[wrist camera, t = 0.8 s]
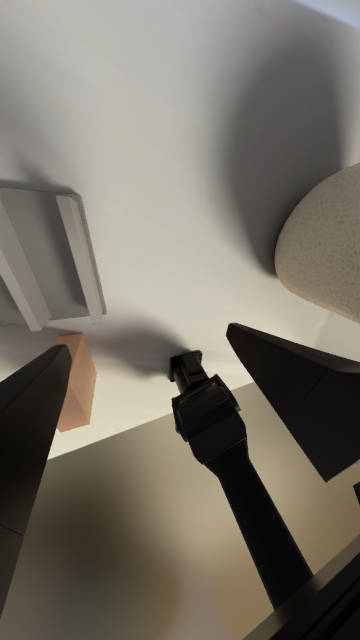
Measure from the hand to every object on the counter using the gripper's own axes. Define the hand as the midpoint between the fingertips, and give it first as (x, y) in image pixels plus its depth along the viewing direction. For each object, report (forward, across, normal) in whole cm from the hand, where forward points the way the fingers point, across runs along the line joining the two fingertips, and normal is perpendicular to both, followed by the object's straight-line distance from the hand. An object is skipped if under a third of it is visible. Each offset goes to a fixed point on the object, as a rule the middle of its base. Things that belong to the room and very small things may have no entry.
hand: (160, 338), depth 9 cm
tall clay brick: (+14, +9, +12) cm, 20 cm away
